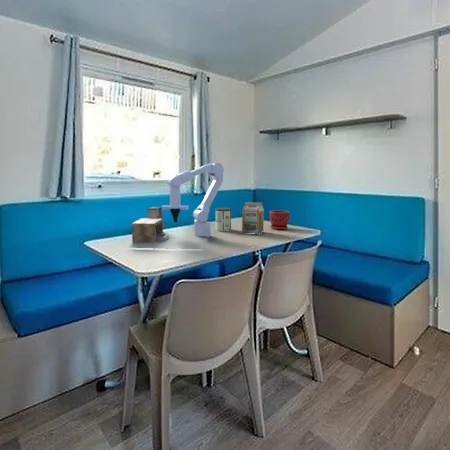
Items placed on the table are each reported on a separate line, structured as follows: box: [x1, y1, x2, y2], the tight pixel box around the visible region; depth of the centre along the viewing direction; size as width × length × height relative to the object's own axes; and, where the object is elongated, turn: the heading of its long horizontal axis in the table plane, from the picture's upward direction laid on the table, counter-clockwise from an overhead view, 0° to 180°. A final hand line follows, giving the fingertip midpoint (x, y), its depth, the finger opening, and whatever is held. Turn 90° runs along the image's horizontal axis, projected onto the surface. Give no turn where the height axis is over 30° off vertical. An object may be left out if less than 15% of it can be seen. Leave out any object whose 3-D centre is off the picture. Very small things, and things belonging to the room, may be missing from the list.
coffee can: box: [215, 207, 232, 232], centre depth 221 cm, size 10×10×14 cm
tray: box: [156, 233, 169, 242], centre depth 187 cm, size 12×9×3 cm
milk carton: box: [241, 201, 265, 235], centre depth 211 cm, size 11×11×19 cm
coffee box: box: [146, 206, 164, 220], centre depth 205 cm, size 9×6×16 cm
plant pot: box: [269, 210, 291, 230], centre depth 227 cm, size 13×13×12 cm
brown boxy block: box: [131, 217, 164, 244], centre depth 187 cm, size 12×18×11 cm, turn 177°
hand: (175, 222), depth 192 cm, fingers closed
